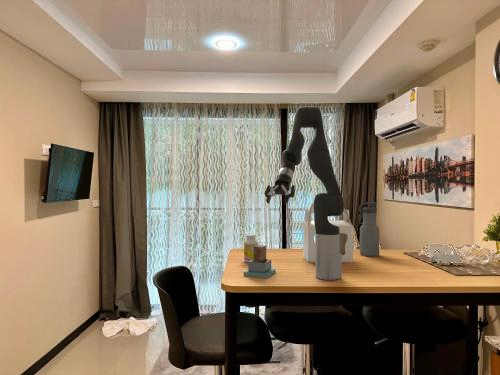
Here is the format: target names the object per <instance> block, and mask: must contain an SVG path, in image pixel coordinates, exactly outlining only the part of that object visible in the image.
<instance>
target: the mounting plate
mask: <svg viewBox="0 0 500 375" xmlns="http://www.w3.org/2000/svg"><path fill="white" fill-rule="evenodd" d="M274 274H276V268H271V270H269V271H268V272H266V273H258V272H249V271H248V269H246V270H244V271H243V276H244V275H246V277H253V278H262V279H268V278H269V277H271V276H273V275H274Z"/></svg>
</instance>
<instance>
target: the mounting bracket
mask: <svg viewBox="0 0 500 375" xmlns="http://www.w3.org/2000/svg"><path fill="white" fill-rule="evenodd" d="M427 248H428V254H429V261H430V260H433V261H434V260H435V261H436V262H437V263H440V262H441V263H447V262H458V263H460V262H462V263H463V264H464V262H463V261H462V258H461V256H460V254H458V252H457V250H456V249H453V250H451V248H450V247H449V245H447V244H429V245H428V246H427ZM436 250H441V251H442V252H443V253H444V254H443V253H442V252H438V253H435V251H436ZM451 258H452V259H451ZM437 263H436V264H437Z"/></svg>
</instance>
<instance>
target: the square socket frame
mask: <svg viewBox="0 0 500 375" xmlns="http://www.w3.org/2000/svg"><path fill="white" fill-rule="evenodd" d="M247 263H248V265H247V267H248V268H247V270H248V271H249V272H258V273H266V272H268V271H269V270H271V269H272V259H267V258H266V262H264V263H263V262H254V259H253V260H250V261H248V262H247Z"/></svg>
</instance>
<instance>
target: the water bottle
mask: <svg viewBox="0 0 500 375" xmlns="http://www.w3.org/2000/svg"><path fill="white" fill-rule="evenodd" d="M367 205H369V206H367ZM376 205H377V203H376V202H375V201H374V202H373V201H371V202H370V201H367V202H362V203H361V204H359V206H358V212H359V214H358V220H357V221H358V225H361V226H360V227H359V254H360V255H361V256H363V255H365V256H364V257H379V256H380V227H379V226H378V225H377V212H378V211H377V207H376ZM361 216H362V222H361Z"/></svg>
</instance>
